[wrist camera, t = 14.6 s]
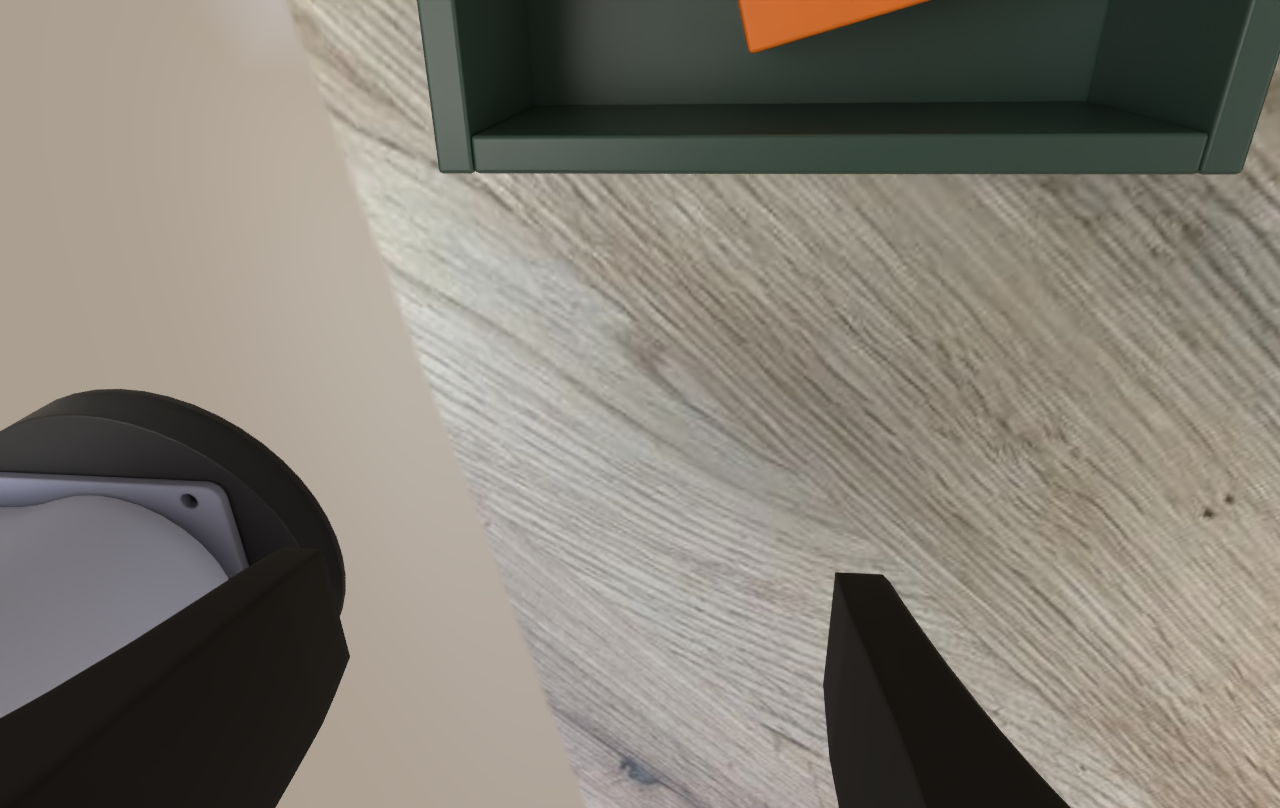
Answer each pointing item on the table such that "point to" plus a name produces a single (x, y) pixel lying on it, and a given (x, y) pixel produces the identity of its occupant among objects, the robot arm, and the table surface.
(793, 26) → the orange rectangular block
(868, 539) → the table surface
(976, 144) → the bin
